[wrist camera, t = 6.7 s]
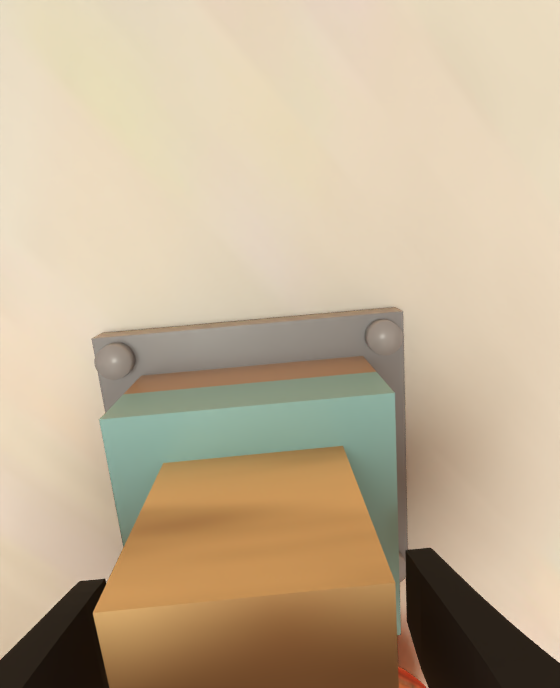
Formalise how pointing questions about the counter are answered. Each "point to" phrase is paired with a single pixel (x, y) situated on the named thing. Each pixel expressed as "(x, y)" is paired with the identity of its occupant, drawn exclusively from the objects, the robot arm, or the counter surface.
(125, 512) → the teal block with base
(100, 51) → the counter surface
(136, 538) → the ochre brick
